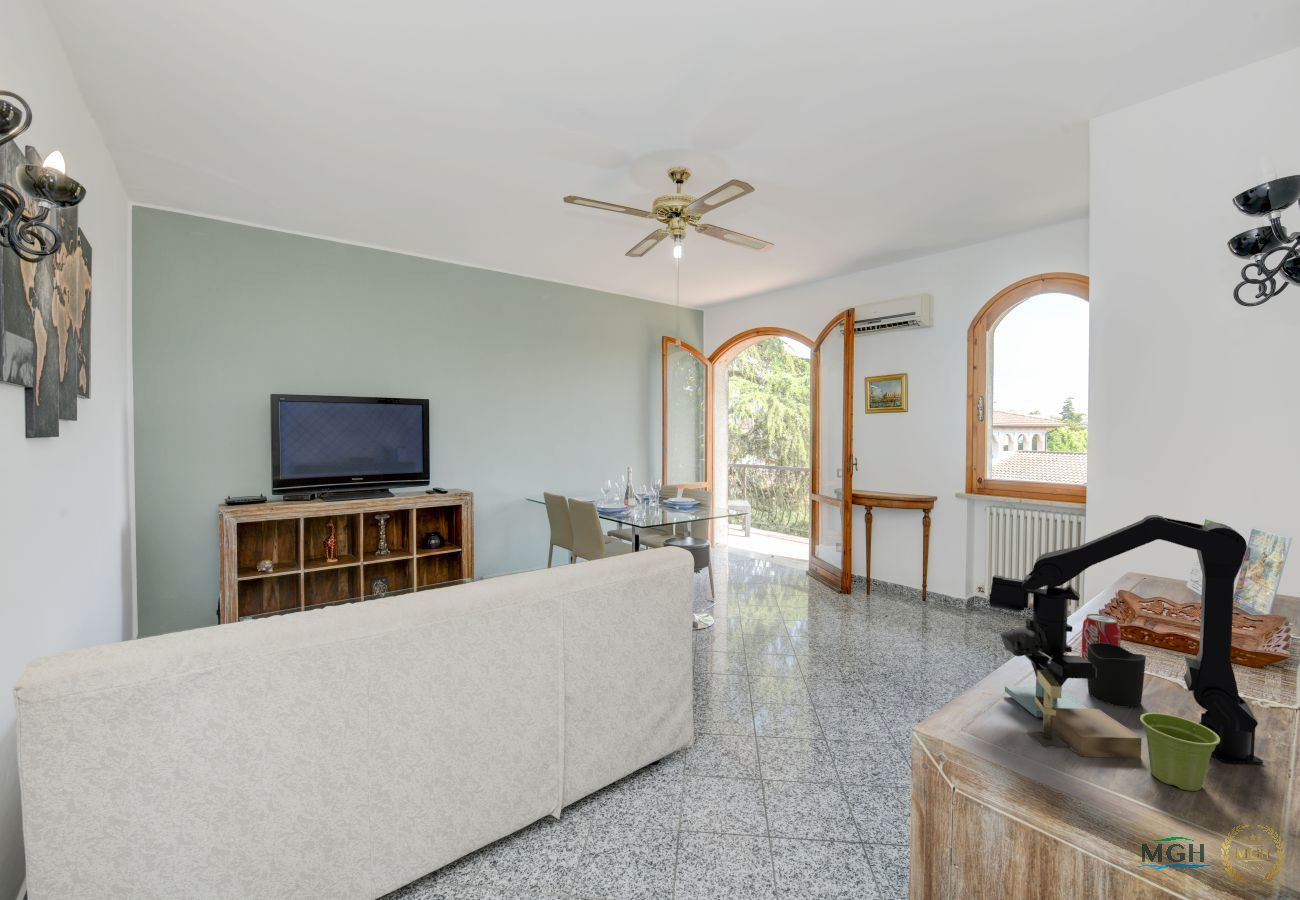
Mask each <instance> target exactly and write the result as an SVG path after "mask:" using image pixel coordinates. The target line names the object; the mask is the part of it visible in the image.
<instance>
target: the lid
mask: <svg viewBox="0 0 1300 900" xmlns="http://www.w3.org/2000/svg"><path fill="white" fill-rule="evenodd" d="M1004 692H1005V693H1006V694H1007V695H1009V696H1010V697H1011V698H1012V699H1013V700H1014V701H1015V702H1016V703H1018V704H1020V705H1021V706H1022V707H1023V708H1025V709H1026V710H1027V711H1028V712H1029V713H1031V714H1032V715H1033V716H1035V717H1037V718H1040V717H1041V718H1043V712H1042V710H1041V709H1040V707H1039V706H1038V705H1037V703H1036V702H1035V696H1040V697H1044V688H1043V687H1042V685H1041V684H1040V683H1039V681H1038V680H1037V678H1036V679H1035V686H1023V685H1019V686H1018V685H1017V686H1016V685H1005V686H1004ZM1053 707H1054V708H1076V709H1088V708H1087V707H1086V706H1084V705H1083V704H1082V703H1080V702H1078V701H1077V700H1075V699H1074V698H1073V697H1071V696H1070V695H1069V694H1067V693H1065V692H1064V691H1063V690H1062V691H1061V698H1055V697H1053Z"/></svg>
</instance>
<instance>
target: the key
mask: <svg viewBox="0 0 1300 900" xmlns="http://www.w3.org/2000/svg"><path fill="white" fill-rule="evenodd" d="M1036 679H1037V680H1038V681H1039V683H1040V684H1041V685H1042V687H1043V688H1044V697H1040V696H1035V702H1036V703H1037V705H1038V706H1039V707H1040V709H1041V710H1042V712H1043V717H1042V731H1043V738H1045V739H1049V740H1051V739H1052V721H1053V715H1055V716H1056V709H1055V708H1054V707H1053V697H1055V698H1061V691H1062V692H1063V690H1062V688H1063V686H1062V687H1061V686H1060V685H1059V683H1058V682H1057V681H1056V680H1055V679H1054V677H1053V676H1052V675H1051V674H1050V673H1049V672H1048V671H1047V670H1038V675H1037V678H1036Z"/></svg>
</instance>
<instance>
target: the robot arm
mask: <svg viewBox="0 0 1300 900" xmlns="http://www.w3.org/2000/svg"><path fill="white" fill-rule="evenodd" d="M1157 540H1160V541H1165V542H1168V543H1172V544H1175V545H1179V546H1182V547H1185V548H1189V549H1192V550H1196V554H1197V558H1198V563H1199V565H1200V570H1201V573H1202V579H1201V600H1200V601H1201V604H1200V623H1199V624H1200V628H1199V630H1200V631H1199V650H1198V652H1197V655H1196V656H1195V659H1194V658H1192V657H1188V656H1185V657H1184V660H1185V666H1186V671H1185V674H1184V675H1183V679H1184V682H1185V685H1186V688H1187V690H1188V691H1189V692H1191V693H1192V695H1193V698H1194V701H1195V703H1197V704H1198V705H1199V707H1200V708H1202V709H1204V710H1206V711H1205V712H1204V713H1203V712H1201V714H1200V715H1201V716H1200V722H1199V723H1198V724H1200V725H1203V726H1205V727H1206V728H1208V729H1210V730H1212V731H1213V732H1215V733H1216V734H1217V735H1218V736H1219V738H1220V743H1219V744H1218V745H1216V746H1215V750H1214V751H1213V752H1212V753H1211V756H1212V757H1214V758H1216V759H1218V760H1219V761H1221V762H1223V763H1226V764H1247V765H1249V764H1250V765H1251V764H1253V765H1255V764H1256V765H1263V764H1264V760H1263V759H1262V758H1260V757H1258V756H1256V755H1255V744H1256V743H1255V740H1256V728H1257V726H1258V724H1259V722H1258V721H1257V719H1256V716H1254V713H1253V712H1252V710H1251V708H1250V706H1249V704H1248V702H1247V701H1246V700H1244V699H1243V698H1242V697H1241V696H1240V694H1239V689H1238V685H1237V679H1236V676H1235V672H1234V668H1233V665H1232V642H1233V641H1232V637H1233V616H1234V615H1233V614H1234V594H1235V593H1234V592H1235V581H1236V578H1237V577H1238V574H1239V572H1240V570H1241V568H1242V565H1243V562H1244V560H1245V559H1244V558H1245V556H1246V553H1247V549H1248V545H1247V541H1246V539H1245V538H1244V537H1243V535H1242V534H1241V533H1239V532H1238V531H1236V530H1235V529H1234V528H1232V527H1231V526H1228V525H1227V524H1224V523H1219V522H1212V523H1205V524H1200V523H1196V522H1190V521H1185V520H1179V519H1173V518H1168V517H1164V516H1163V515H1162V516H1161V515H1158V514H1151V515H1147V516H1145V517H1143V518H1142V519H1141V520H1139V521H1137V522H1133V523H1132V524H1130V525H1127V526H1124V527H1122V528H1120V529H1117V530H1115V531H1112V532H1109V533H1108V534H1105V535H1103V536H1100V537H1098V538H1095V539H1092V540H1091V541H1088V542H1086V543H1083V544H1081V545H1078V546H1077V545H1076V546H1073V547H1068V548H1062V549H1061V548H1060V549H1056V550H1053V551H1049V552H1045V553H1042V554H1041V555H1039V556H1038V557H1037V558H1036V559H1035V563H1034V564H1033V568H1032V571H1031V572H1029V573H1028V574H1026V575H1025V577H1024V579H1018V578H1012V577H1005V576H1003V575H998V574H994V575H993V576H992V578H991V579H992V580H991V581H992V582H991V588H990V592H989V607H990V608H991V609H995V610H996V609H997V610H1003V611H1007V612H1008V611H1009V612H1014V613H1022V614H1023V611H1025V609H1026V610H1027V609H1028V610H1029V608H1030V599H1031V598H1030V597H1031V595H1032V616H1031V617H1027V619H1026V620H1025V626H1023V627H1015V628H1011V629H1009V630H1007V631H1004V632H1002V633H1000V636H1001V640H1002V643H1003V646H1004V648H1005V650H1006V651H1007V652H1010V653H1011V654H1012V655H1013V656H1015V657H1023V656H1024V657H1026V658H1027V659H1028V660H1029V662H1030V663H1031V666H1032V668H1033V671H1034V675H1035V678H1036V679H1037V675H1038V670H1047V671H1048V672H1049V673H1050V674H1051V675H1052V676H1053V677H1054V679H1055V680H1056V681H1057V682H1058V683H1059V685H1060V686H1061V687H1062V688H1063V685H1064V684H1065V683H1066V681H1067V680H1068V679H1087V680H1088V679H1096V675H1097V667H1096V666H1095V665H1094V664H1093V663H1091V662H1090V661H1088V660H1086V659H1084V658H1083V657H1082V655H1081V656H1080V655H1074V654H1073V655H1068V654H1065V653H1072V650H1073V649H1072V646H1070V645H1068V644H1067V641H1068V640H1067V638H1068V635H1067V634H1068V632H1071V633H1072V632H1073V626H1072V625H1070V624H1068V612H1069V611H1068V610H1069V609H1068V606H1069V600H1070V601H1080V597H1081V595H1080V593H1079V592H1078V591H1076V590H1075V589H1074V588H1073V586H1072V585H1071V584H1067V586H1066V587H1060V586H1062V585H1064V584H1066V583H1068V582H1069V581H1071V580H1072V579H1074V578H1075V577H1077V576H1079V575H1080V574H1081V573H1082V572H1084V571H1085V570H1086V569H1088V568H1090V567H1091V566H1095V565H1096V564H1099V563H1101V562H1104V561H1107V560H1109V559H1111V558H1114V557H1116V556H1119V555H1123V554H1124V553H1127V552H1129V551H1131V550H1134V549H1136V548H1139V547H1142V546H1145V545H1147V544H1149V543H1152V542H1155V541H1157ZM1043 587H1046V588H1043ZM1030 594H1031V595H1030Z"/></svg>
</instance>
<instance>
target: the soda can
mask: <svg viewBox="0 0 1300 900" xmlns="http://www.w3.org/2000/svg"><path fill="white" fill-rule="evenodd" d="M1118 623H1119V621H1118V619H1117V618H1115V617H1112V616H1110V615H1105V614H1099V613H1088V614H1086V618H1085V619H1084V620H1083V622H1082V628H1081V629H1082V632H1081V634H1082V635H1081V657H1083V658H1084V659H1086V660H1088V654H1087V646H1088V644H1091V643H1109V644H1114V645H1117V646H1120V647H1121V642H1122V641H1121V638H1122V636H1121V635H1122V633H1121V632H1122V631H1121V627H1120V624H1118Z"/></svg>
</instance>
